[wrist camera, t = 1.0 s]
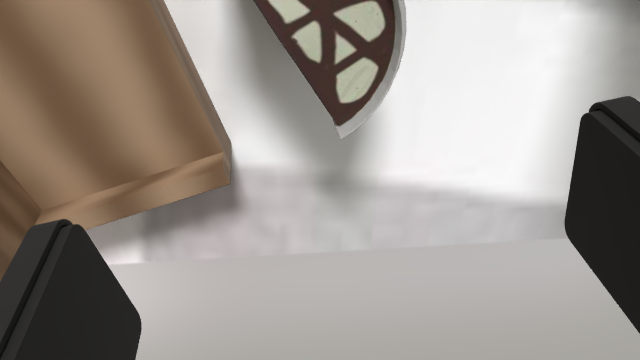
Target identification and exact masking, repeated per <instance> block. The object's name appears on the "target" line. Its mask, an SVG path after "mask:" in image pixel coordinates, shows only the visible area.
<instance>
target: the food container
mask: <svg viewBox="0 0 640 360" xmlns="http://www.w3.org/2000/svg"><path fill="white" fill-rule="evenodd" d="M254 2H255V3H256V5H257V6H258V8H259V9H260V11H261V12H262V14H263V15H264V17H265V19H266V20H267V22H268V23H269V25H270V26H271V28H272V29H273V31H274V32H275V34H276V36H277V37H278V39H279V40H280V42H281V43H282V45H283V46H284V47H285V49H286V50H287V52H288V53H289V55H290V56H291V57H292V59H293V60H294V62H295V63H296V65H297V66H298V68H299V69H300V71H301V72H302V74H303V75H304V76H305V78H306V79H307V81H308V82H309V84H310V85H311V87H312V88H313V90H314V91H315V93H316V94H317V96H318V97H319V99H320V100H321V102H322V103H323V105H324V106H325V108H326V109H327V111H328V112H329V114H330V115H331V116H332V118H333V121H334V123H335V126H336V129H337V131H338V134H339V137H340V139H343V138H344V137H346V136H347V135H349V134H350V133H352V132H353V131H355V130H356V129H357V128H358V127H359V126H360V125H361V124H363V123H364V122H365V121H366V120H367V119H368V118H369V117H370V116H371V114H372V113H373V112H374V111H375V110H376V109H377V107H378V106H379V105H380V103H381V102H382V100H383V99H384V97H385V96H386V94H387V92H388V91H389V89H390V87H391V85H392V82H393V80H394V78H395V76H396V73H397V71H398V69H399V65H400V62H401V58H402V55H403V51H404V45H405V37H406V8H405V3H404V0H254Z"/></svg>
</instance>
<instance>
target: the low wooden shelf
mask: <svg viewBox="0 0 640 360" xmlns="http://www.w3.org/2000/svg"><path fill="white" fill-rule="evenodd" d="M230 172H231V142H230V139H229V137H228V135H227V133H226V131H225V129H224V127H223V125H222V123H221V120H220V118H219V116H218V114H217V112H216V110H215V108H214V106H213V104H212V101H211V99H210V97H209V95H208V93H207V91H206V89H205V87H204V85H203V82H202V80H201V78H200V76H199V74H198V72H197V70H196V68H195V66H194V63H193V61H192V59H191V57H190V55H189V53H188V51H187V49H186V47H185V44H184V42H183V40H182V38H181V36H180V34H179V32H178V30H177V28H176V25H175V23H174V21H173V19H172V17H171V15H170V13H169V11H168V9H167V6H166V4H165V2H164V0H0V281H1V280H2V278H3V276H4V274H5V272H6V270H7V268H8V267H9V265H10V263H11V261H12V259H13V257H14V255H15V254H16V252H17V250H18V248H19V246H20V244H21V242H22V241H23V239H24V237H25V235H26V233H27V231H28V230H29V229H30V227H32V226H34V225H37V224H42V223H46V222H51V221H56V220H60V219H67V220H69V221H71V222H72V224H73V225H74V224H79V225H80V226H82V227H83V228H84V230H87V229H90V228H93V227H96V226H99V225H102V224H105V223H109V222H112V221H115V220H118V219H121V218H124V217H127V216H131V215H134V214H137V213H140V212H143V211H146V210H149V209H153V208H156V207H159V206H162V205H165V204H168V203H171V202H175V201H178V200H181V199H184V198H187V197H190V196H194V195H197V194H200V193H203V192H206V191H209V190H212V189H216V188H219V187H222V186H225V185H228V184H230Z"/></svg>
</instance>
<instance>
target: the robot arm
mask: <svg viewBox="0 0 640 360" xmlns="http://www.w3.org/2000/svg"><path fill="white" fill-rule="evenodd" d="M565 230H566V234H567V236H568V238H569V240H570V241H571V243H572V244H573V245H574V247H575V248H576V249H577V250H578V252H579V253H580V255H581V256H582V257H583V259H584V260H585V261H586V263H587V264H588V265H589V267H590V268H591V269H592V271H593V272H594V273H595V275H596V276H597V277H598V278H599V280H600V281H601V283H602V284H603V285H604V287H605V288H606V289H607V290H608V292H609V293H610V294H611V296H612V297H613V299H614V300H615V301H616V303H617V304H618V305H619V307H620V308H621V309H622V311H623V312H624V313H625V314H626V316H627V317H628V319H629V320H630V321H631V323H632V324H633V325H634V326H635V328H636V329H637V331H638V332H639V333H640V102H639V101H637V100H636V99H634V98H632V97H629V96H625V97H621V98H616V99H612V100H607V101H602V102H598V103H595V104H593V105H592V106H591V108H590V109H589V113H586V114H584V115H583V116H582V118H581V121H580V127H579V133H578V140H577V146H576V152H575V159H574V165H573V171H572V178H571V184H570V190H569V197H568V203H567V209H566V216H565ZM140 335H141V319H140V316H139V313H138V312H137V310H136V308H135V307H134V305H133V304H132V302H131V301H130V299H129V298H128V296H127V295H126V293H125V291H124V290H123V288H122V287H121V285H120V284H119V282H118V281H117V279H116V278H115V276H114V275H113V273H112V271H111V270H110V268H109V267H108V265H107V264H106V262H105V261H104V259H103V258H102V256H101V254H100V253H99V251H98V250H97V248H96V247H95V245H94V244H93V242H92V241H91V239H90V237H89V236H88V234H87V233H86V231H85V230H84V228H83V227H82V226H80V225H79V224H74V225H73V224H72V222H71V221H69V220H67V219H60V220H56V221H51V222H46V223H42V224H37V225H34V226H32V227H30V229H29V230H28V231H27V233H26V235H25V237H24V239H23V241H22V242H21V244H20V246H19V248H18V250H17V252H16V254H15V255H14V257H13V259H12V261H11V263H10V265H9V267H8V268H7V270H6V272H5V274H4V276H3V278H2V280H1V281H0V360H135V358H136V353H137V349H138V343H139V339H140Z"/></svg>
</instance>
